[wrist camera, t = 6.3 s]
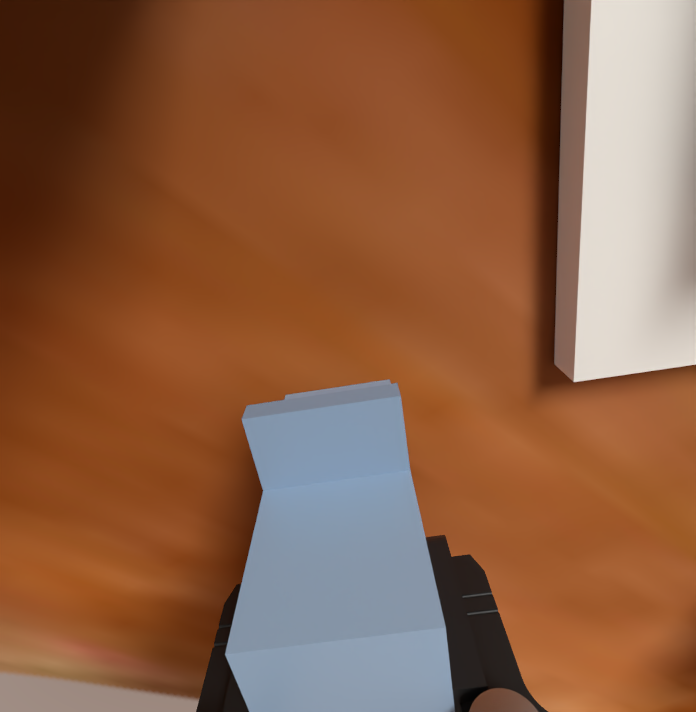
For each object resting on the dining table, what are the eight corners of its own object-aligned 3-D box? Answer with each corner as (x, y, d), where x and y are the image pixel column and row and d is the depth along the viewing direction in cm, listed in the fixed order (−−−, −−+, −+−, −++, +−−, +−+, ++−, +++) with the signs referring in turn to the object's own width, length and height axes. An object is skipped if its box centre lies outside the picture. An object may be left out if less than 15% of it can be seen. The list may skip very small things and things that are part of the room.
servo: (271, 339, 14) (185, 563, 6) (381, 322, 14) (435, 530, 6) (328, 566, 18) (318, 874, 10) (413, 554, 18) (471, 860, 10)
